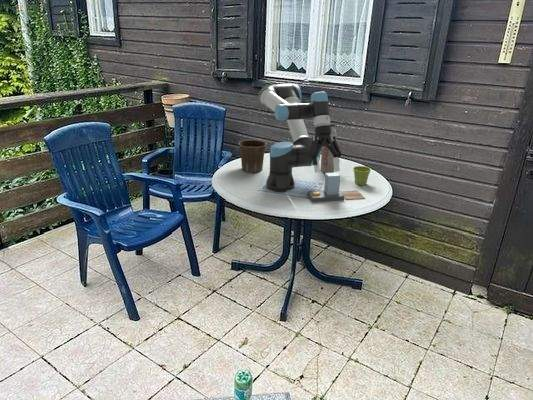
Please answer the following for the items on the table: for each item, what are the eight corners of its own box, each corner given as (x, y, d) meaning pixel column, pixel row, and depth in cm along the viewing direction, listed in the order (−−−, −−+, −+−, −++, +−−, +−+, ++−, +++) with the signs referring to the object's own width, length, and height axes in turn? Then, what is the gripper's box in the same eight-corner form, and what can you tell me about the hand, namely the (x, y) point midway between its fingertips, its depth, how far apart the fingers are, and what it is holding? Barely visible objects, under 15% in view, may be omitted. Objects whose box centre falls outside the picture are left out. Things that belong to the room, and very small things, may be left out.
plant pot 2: (361, 188, 209) (362, 172, 205) (348, 183, 216) (349, 167, 212) (372, 184, 214) (374, 169, 210) (359, 179, 221) (361, 164, 217)
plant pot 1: (269, 166, 240) (269, 140, 234) (262, 175, 226) (262, 148, 219) (243, 164, 244) (243, 138, 237) (235, 172, 229) (234, 145, 223)
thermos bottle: (327, 174, 228) (330, 126, 217) (317, 170, 234) (320, 123, 223) (336, 171, 233) (340, 124, 222) (327, 168, 239) (330, 122, 227)
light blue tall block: (323, 195, 196) (325, 173, 192) (335, 195, 198) (337, 172, 193) (326, 199, 192) (328, 176, 188) (338, 198, 193) (340, 175, 189)
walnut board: (338, 193, 201) (338, 191, 201) (356, 192, 203) (357, 190, 203) (345, 201, 192) (346, 199, 192) (364, 200, 194) (365, 197, 194)
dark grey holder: (306, 196, 197) (307, 189, 196) (337, 194, 200) (337, 187, 199) (312, 203, 189) (312, 196, 188) (343, 201, 192) (344, 194, 191)
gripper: (309, 123, 171) (314, 171, 171) (346, 125, 187) (351, 169, 187) (297, 126, 177) (302, 173, 177) (334, 128, 193) (338, 171, 193)
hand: (327, 171), depth 182 cm, fingers open, 13 cm apart
